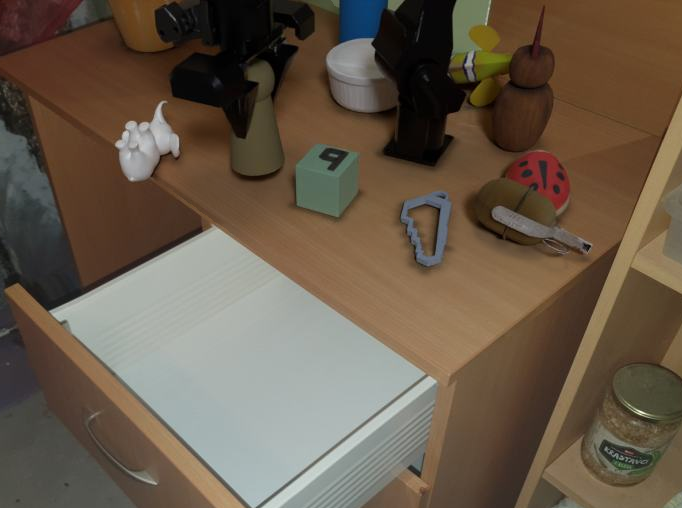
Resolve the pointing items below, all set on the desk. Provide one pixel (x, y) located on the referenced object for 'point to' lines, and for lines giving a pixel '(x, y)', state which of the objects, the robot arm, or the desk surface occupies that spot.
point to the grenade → (522, 215)
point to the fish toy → (481, 65)
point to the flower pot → (139, 23)
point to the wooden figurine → (525, 97)
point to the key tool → (442, 228)
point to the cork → (259, 129)
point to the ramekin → (359, 78)
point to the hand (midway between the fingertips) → (252, 127)
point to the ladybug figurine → (542, 177)
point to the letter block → (327, 179)
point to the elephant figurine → (146, 146)
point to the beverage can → (359, 18)
